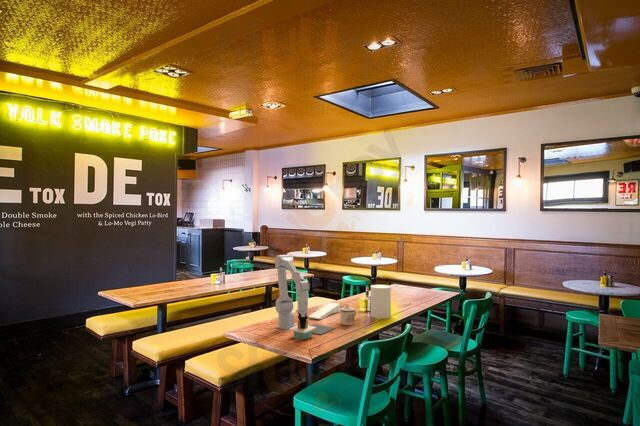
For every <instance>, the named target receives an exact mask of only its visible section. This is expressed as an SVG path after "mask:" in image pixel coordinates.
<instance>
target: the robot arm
mask: <svg viewBox="0 0 640 426" xmlns="http://www.w3.org/2000/svg"><path fill="white" fill-rule="evenodd" d="M274 267H275V269H276V271H277V279H278V281H277V283H278V293H279V297H278V298H277V299H276V300H275V305H274V307H275V308H274V309H275V311H276V313H277V314H278V325H277V326H275V328H277V329H281V330H287V329H288V330H289V329H290V328H292V327H295V326H296V325H295V314H294V313H293V310H294V303H293V298H292V297H290V296H289V291H288V284H287V281H288V280H287V271H286V270H288V271H289V272H290V274H291V278H292V281H293V282H294V284H295V290H296V294H297V309H295V312H296V313H297V314H298V315H297V318H298V321H300V326H301V329H305V325H306V321H307V320H308V318H309V317H308V316H309V315H308V313H309V307H308V306H309V304H308V303H309V297H308V296H309V290H310V288H311V284H310V281H309V280H307V279H305V277H304V276H303V273H301V271H299V270H297V268H296V266H295V263H294V256H293V255H292V254H291V253H290V254H276V256H275V257H274Z"/></svg>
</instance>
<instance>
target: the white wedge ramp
mask: <svg viewBox="0 0 640 426" xmlns="http://www.w3.org/2000/svg"><path fill="white" fill-rule="evenodd" d="M340 309H341V303H336V302H328V303H327V304H326V305H324V306H322V307H321V308H318V310H316V311H314V312H312V314H311V313H310V315H307V316H308V318H309V319H315V320H324V319H325V318H327V317H328V316H330V315H332V314H337V313H341V311H340Z"/></svg>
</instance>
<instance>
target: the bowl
mask: <svg viewBox="0 0 640 426" xmlns="http://www.w3.org/2000/svg"><path fill="white" fill-rule="evenodd" d="M312 337H313V333H312V331H310V332H307V333H300V332H295V331H293V338H294V339H297V340H308V339H312Z"/></svg>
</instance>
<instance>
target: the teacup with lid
mask: <svg viewBox="0 0 640 426" xmlns="http://www.w3.org/2000/svg"><path fill="white" fill-rule="evenodd" d="M356 315H357V312H356V310H355V308H354V307H352V306H350V304H346V305H344V307H340V324H341V325H345V326H352V325H355V318H356Z"/></svg>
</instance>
